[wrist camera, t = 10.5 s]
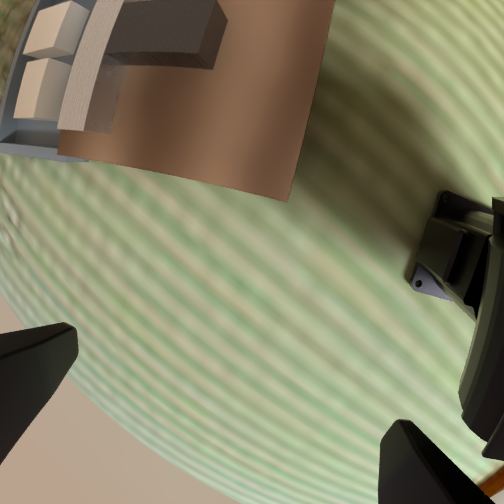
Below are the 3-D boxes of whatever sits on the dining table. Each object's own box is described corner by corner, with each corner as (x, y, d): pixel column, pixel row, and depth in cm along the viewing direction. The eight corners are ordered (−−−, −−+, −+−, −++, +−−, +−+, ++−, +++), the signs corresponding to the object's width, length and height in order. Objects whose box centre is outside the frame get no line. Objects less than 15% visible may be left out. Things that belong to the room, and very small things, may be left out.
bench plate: (336, -5, 13) (341, -34, 10) (288, 196, 17) (286, 202, 14) (141, -16, 14) (120, -37, 11) (89, 154, 18) (56, 154, 15)
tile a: (39, 10, 13) (57, 19, 15) (22, 54, 14) (42, 59, 16) (71, 0, 12) (89, 10, 15) (53, 46, 14) (73, 54, 16)
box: (144, -21, 14) (129, -36, 12) (88, 161, 18) (65, 162, 16) (57, -1, 15) (40, -10, 13) (12, 150, 19) (-8, 151, 17)
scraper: (137, -27, 11) (246, -32, 11) (84, 131, 14) (193, 146, 14) (119, -44, 9) (238, -56, 8) (56, 128, 12) (174, 142, 11)
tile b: (48, 57, 12) (27, 62, 13) (33, 117, 13) (13, 117, 14) (84, 70, 16) (62, 72, 16) (71, 121, 17) (50, 121, 18)
